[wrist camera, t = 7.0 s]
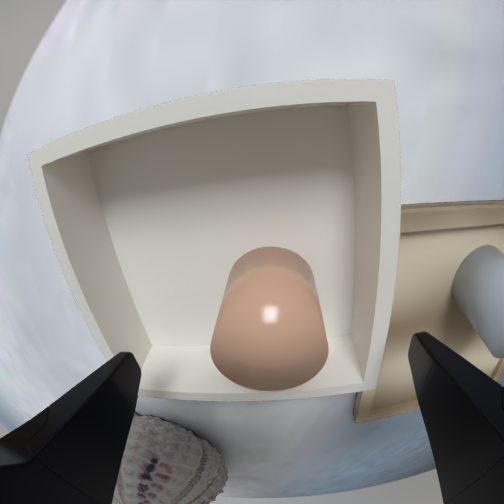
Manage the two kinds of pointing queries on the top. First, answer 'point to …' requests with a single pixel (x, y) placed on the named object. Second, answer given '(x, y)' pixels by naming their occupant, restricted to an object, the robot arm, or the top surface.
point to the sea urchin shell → (168, 466)
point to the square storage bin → (229, 223)
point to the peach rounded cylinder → (270, 322)
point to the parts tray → (431, 297)
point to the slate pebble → (483, 295)
